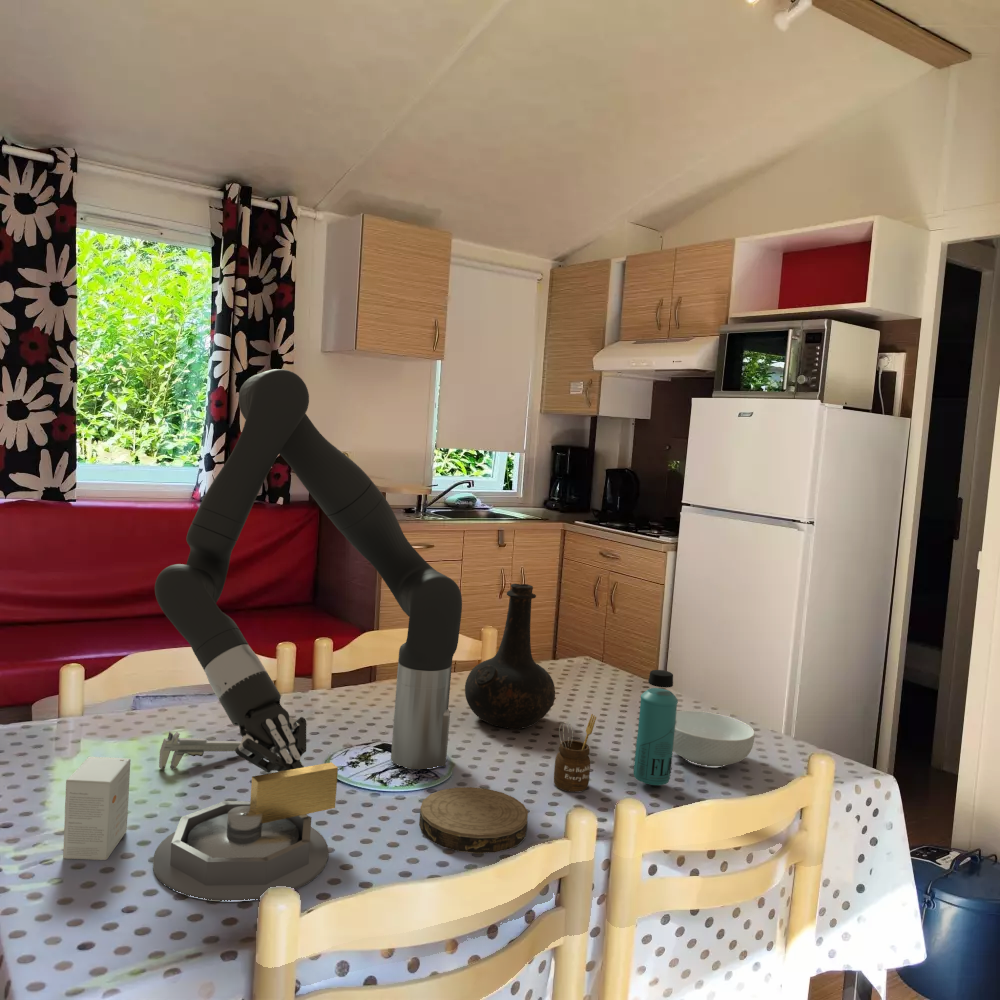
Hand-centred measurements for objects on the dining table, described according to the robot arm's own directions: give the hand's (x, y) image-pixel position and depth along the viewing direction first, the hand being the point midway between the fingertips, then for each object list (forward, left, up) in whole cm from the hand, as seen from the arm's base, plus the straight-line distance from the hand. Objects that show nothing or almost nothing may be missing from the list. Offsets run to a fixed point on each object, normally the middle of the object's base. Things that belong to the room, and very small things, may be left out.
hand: (303, 789), depth 123 cm
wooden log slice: (-25, -3, -7) cm, 26 cm away
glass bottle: (-39, -49, -7) cm, 63 cm away
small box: (+26, +2, -7) cm, 27 cm away
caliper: (+14, -28, -7) cm, 32 cm away
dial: (+5, +4, -6) cm, 9 cm away
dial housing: (+7, +6, -7) cm, 11 cm away
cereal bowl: (-73, -30, -7) cm, 79 cm away
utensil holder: (-44, -18, -7) cm, 48 cm away
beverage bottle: (-58, -18, -7) cm, 61 cm away
